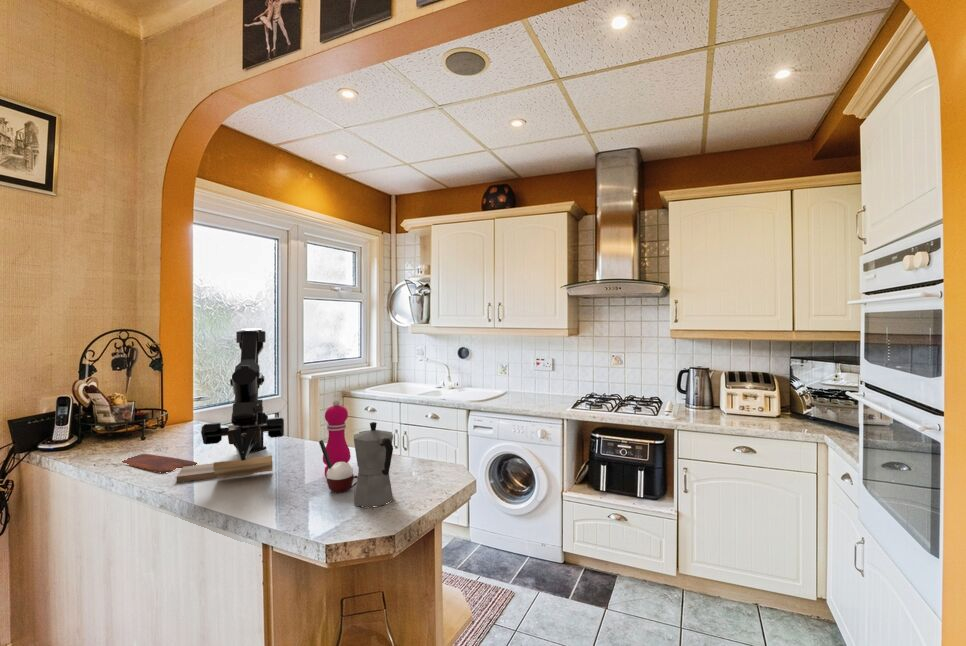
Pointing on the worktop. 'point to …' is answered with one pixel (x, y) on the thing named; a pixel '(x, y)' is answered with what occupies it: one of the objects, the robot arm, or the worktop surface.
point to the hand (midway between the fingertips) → (243, 459)
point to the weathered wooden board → (196, 472)
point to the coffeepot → (373, 467)
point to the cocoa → (338, 473)
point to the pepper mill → (336, 435)
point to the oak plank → (243, 466)
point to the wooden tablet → (158, 463)
